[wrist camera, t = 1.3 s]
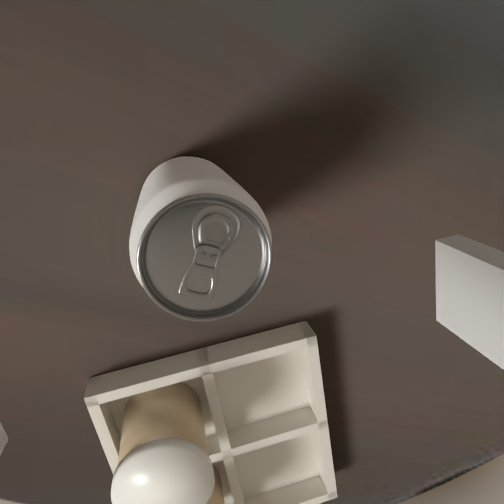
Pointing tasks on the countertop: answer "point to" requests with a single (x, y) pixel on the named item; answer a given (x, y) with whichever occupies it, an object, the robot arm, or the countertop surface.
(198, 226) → the can
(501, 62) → the countertop surface
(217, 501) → the paper cup
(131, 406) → the paper cup
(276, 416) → the carrier
